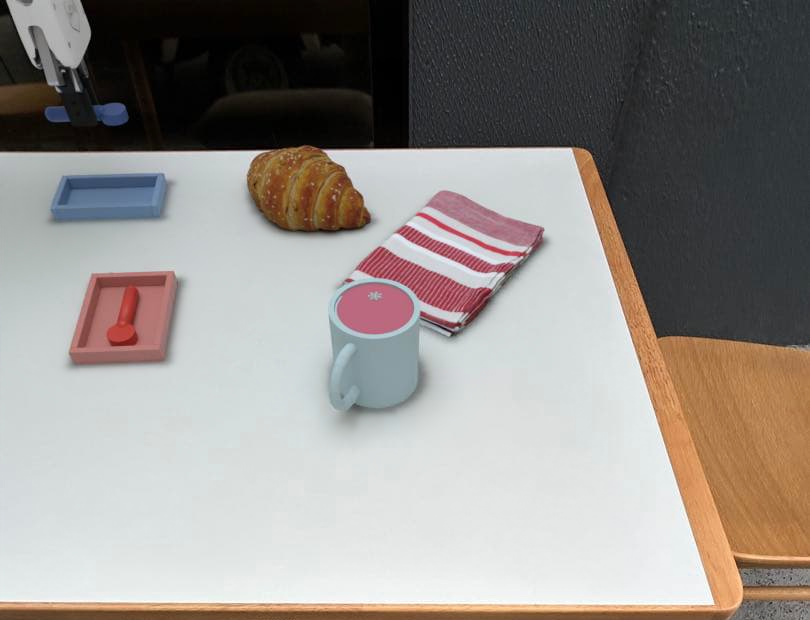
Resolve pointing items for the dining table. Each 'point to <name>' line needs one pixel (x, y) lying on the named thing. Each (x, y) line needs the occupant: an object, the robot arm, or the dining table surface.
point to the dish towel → (452, 258)
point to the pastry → (305, 190)
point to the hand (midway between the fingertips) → (86, 119)
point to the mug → (373, 343)
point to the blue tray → (109, 196)
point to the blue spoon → (107, 113)
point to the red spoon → (125, 321)
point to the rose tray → (104, 313)
